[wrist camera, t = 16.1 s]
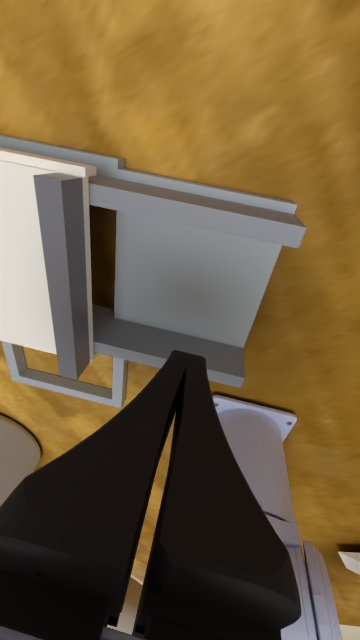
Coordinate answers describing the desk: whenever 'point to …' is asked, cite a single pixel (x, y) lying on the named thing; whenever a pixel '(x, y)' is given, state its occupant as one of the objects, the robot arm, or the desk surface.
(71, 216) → the cover
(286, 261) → the desk surface
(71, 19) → the desk surface
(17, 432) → the cylinder vase
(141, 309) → the gray square frame
